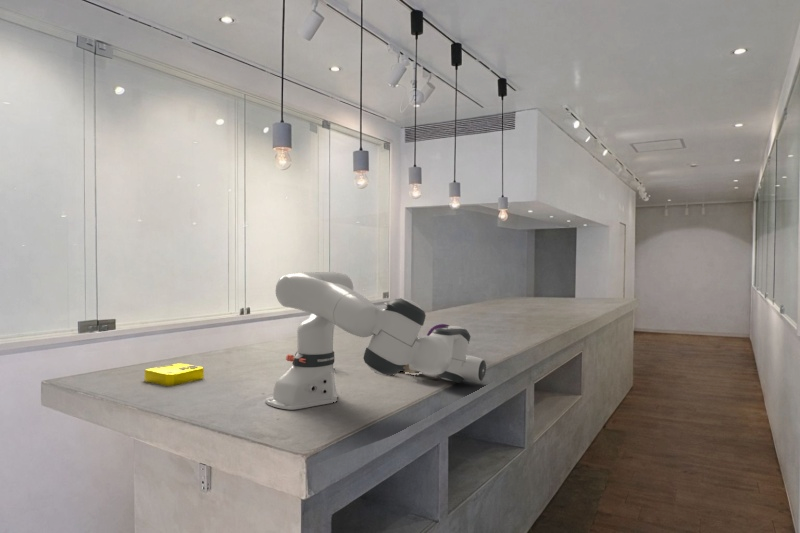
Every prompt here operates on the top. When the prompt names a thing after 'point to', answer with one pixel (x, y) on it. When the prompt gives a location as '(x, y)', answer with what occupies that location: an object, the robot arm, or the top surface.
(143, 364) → the top surface
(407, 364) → the block
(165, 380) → the element tile
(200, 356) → the top surface
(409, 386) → the top surface
